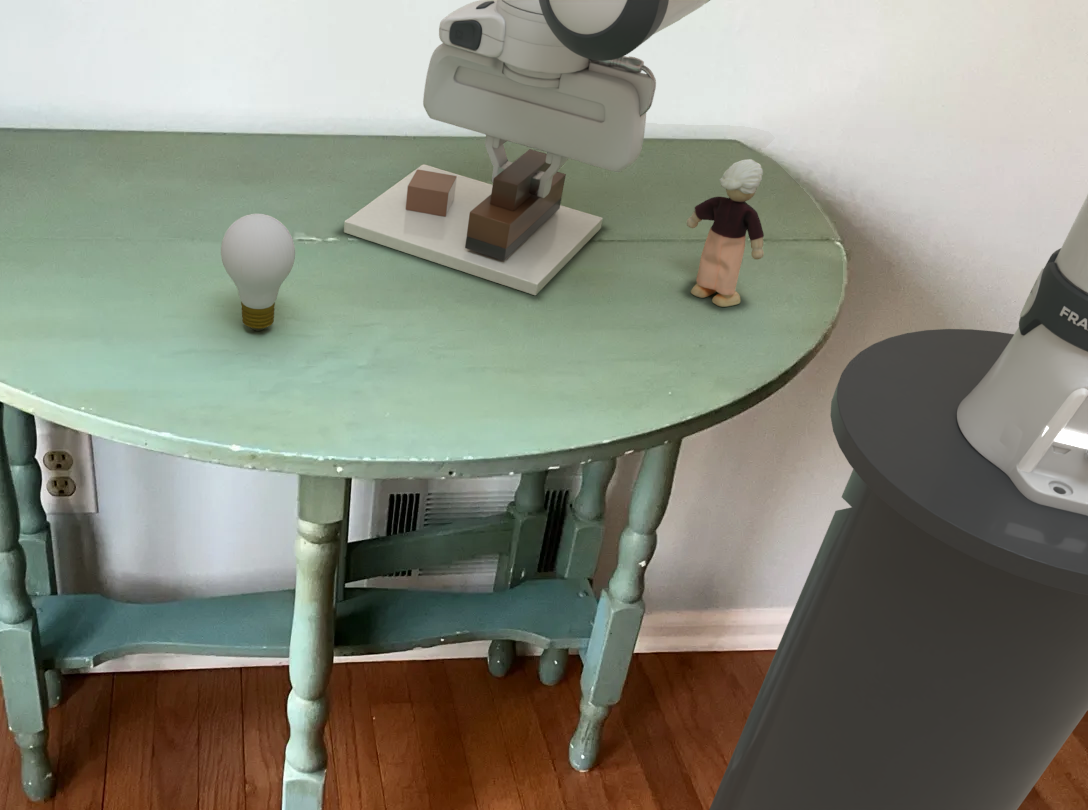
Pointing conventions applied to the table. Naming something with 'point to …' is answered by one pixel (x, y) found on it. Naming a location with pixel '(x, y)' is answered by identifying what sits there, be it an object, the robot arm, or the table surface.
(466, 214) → the tile
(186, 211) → the table surface
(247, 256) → the light bulb
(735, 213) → the grandmother figurine
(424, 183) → the brown square block
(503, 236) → the brush
